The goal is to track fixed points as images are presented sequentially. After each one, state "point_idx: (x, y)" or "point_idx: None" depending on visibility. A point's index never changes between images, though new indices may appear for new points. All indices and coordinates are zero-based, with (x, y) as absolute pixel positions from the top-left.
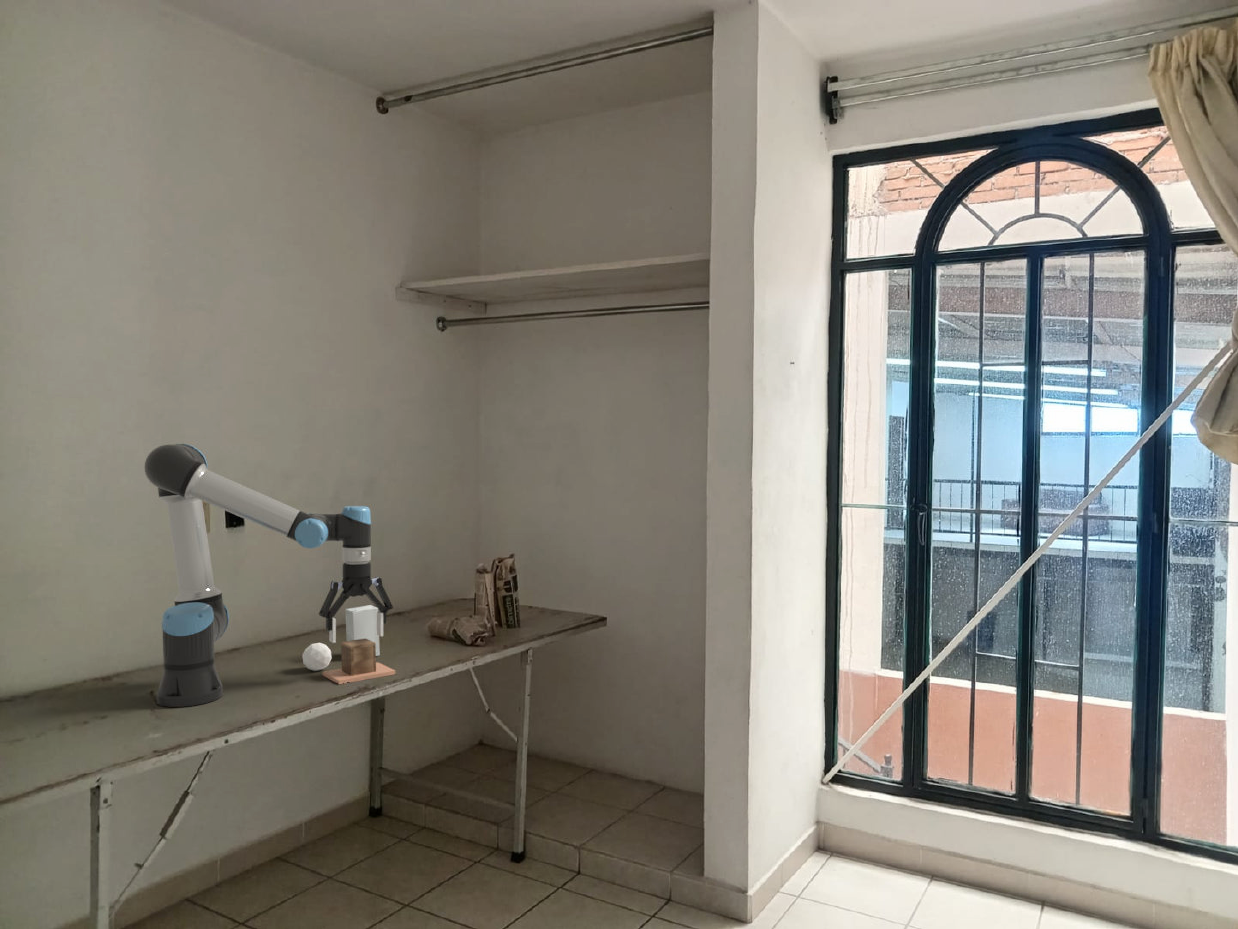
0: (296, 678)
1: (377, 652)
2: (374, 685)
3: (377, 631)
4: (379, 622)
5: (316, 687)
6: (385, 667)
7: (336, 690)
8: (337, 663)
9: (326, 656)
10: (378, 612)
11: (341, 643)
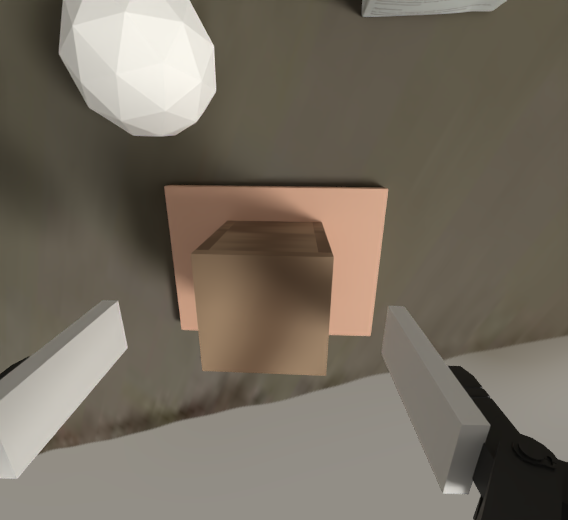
0: (79, 159)
1: (490, 3)
2: (265, 389)
3: (393, 327)
4: (413, 399)
5: (122, 308)
6: (367, 282)
7: (164, 367)
8: (277, 17)
9: (174, 130)
10: (454, 454)
11: (193, 255)
